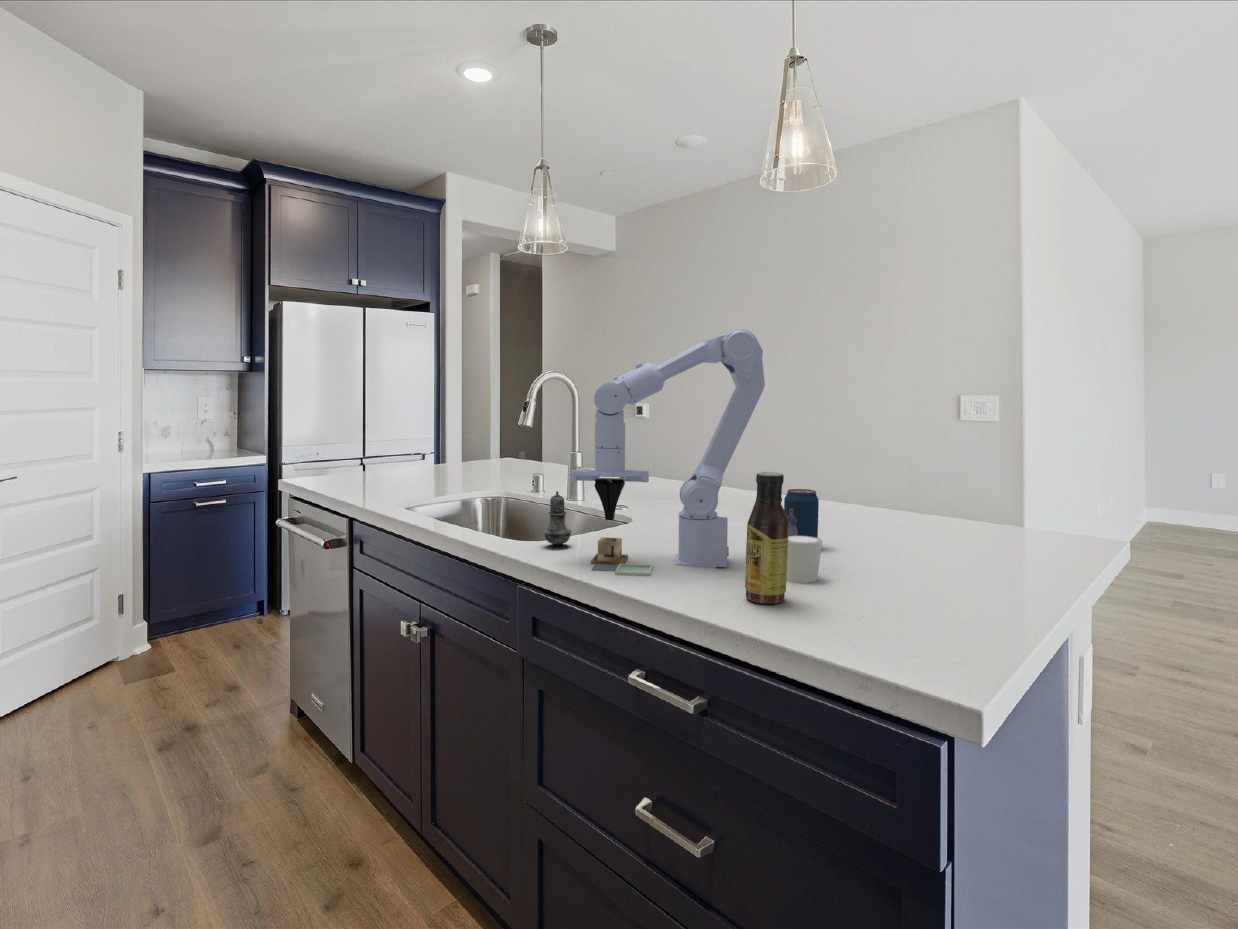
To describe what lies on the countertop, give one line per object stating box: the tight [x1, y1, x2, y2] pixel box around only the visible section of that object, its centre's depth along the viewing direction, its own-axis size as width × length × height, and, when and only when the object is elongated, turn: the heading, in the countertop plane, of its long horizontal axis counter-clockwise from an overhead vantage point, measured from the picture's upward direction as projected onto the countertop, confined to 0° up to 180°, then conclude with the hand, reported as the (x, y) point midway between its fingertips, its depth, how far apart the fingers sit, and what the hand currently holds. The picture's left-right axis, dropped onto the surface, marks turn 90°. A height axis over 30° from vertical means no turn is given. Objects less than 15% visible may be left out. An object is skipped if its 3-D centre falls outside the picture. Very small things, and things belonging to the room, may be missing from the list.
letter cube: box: [597, 536, 623, 562], centre depth 129 cm, size 4×4×4 cm
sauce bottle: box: [744, 471, 788, 605], centre depth 104 cm, size 7×6×20 cm
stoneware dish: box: [614, 563, 654, 577], centre depth 122 cm, size 6×6×1 cm
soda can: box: [783, 488, 820, 538], centre depth 142 cm, size 7×7×12 cm
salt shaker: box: [542, 491, 572, 550], centre depth 141 cm, size 6×6×12 cm
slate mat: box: [591, 564, 618, 572], centre depth 124 cm, size 4×4×1 cm
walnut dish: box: [590, 553, 629, 565], centre depth 130 cm, size 6×6×1 cm
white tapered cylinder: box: [786, 536, 823, 584], centre depth 118 cm, size 7×7×7 cm
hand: (609, 519), depth 129 cm, fingers closed
